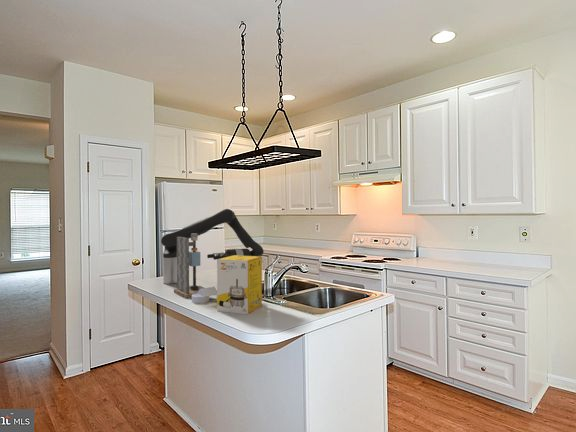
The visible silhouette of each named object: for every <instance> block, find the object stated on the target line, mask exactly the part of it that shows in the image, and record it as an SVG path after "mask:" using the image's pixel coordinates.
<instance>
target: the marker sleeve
mask: <svg viewBox="0 0 576 432" xmlns="http://www.w3.org/2000/svg"><path fill="white" fill-rule="evenodd" d="M193 266H196V267H199V266H200V267H201V251H199V250H197V251H196V252H193V251H189V267H193Z"/></svg>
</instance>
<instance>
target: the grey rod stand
mask: <svg viewBox="0 0 576 432" xmlns="http://www.w3.org/2000/svg"><path fill="white" fill-rule="evenodd" d="M198 238H199V237H198V234H197V233H192V234H191V238H183V237H177V283H176V288H173V293H174V294H176V295H177V296H180V297H182V298H184V299H192V295H193V294H197V292H198V291H199V290H200V289H202V288H205V287H203V286H201V285H197V266H192V285H190V266H189V252H196V251H198V248H197V247H196V246H197V245H196V244H197V242H196V241H199V239H198ZM190 247H191V249H190ZM190 250H191V251H190Z"/></svg>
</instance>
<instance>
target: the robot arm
mask: <svg viewBox="0 0 576 432" xmlns="http://www.w3.org/2000/svg"><path fill="white" fill-rule="evenodd" d="M222 224H227V225H228V226H229V227H230V228H231V229H232V230H233V232H234V233H235V235H236V237H237V238H238V239H239V241H240V242H241V244H242V245H243V246H244V248H230V249H229V248H228V249H226V250H225V252H215V253H210V254H209V253H208V254H207V259H212V260H213V261H214V260H216V261H217V259H221V258H225V257H229V256H233V255H238V256H260V257H262V255H264V248H263V247H262V245H260V244H259V243H258V242H256V241H255V240H254V239H253V238H252V237H251V235H250V234H249V232H248V231H247V230H246V229H245V228H244V227H243V225H242V224H241V223H240V221H239V220H238V217H237V216H236V213H235V212H234V211H233V210H232V209H229V208H225V209H222V210H220V211H219V212H217V213H215V214H213V215H211V216H208V217H207V216H206V217H205V218H203V219H200V220H197V221H195V222H192V223H190V224H188V225H185V226H184V227H183V228H181V229H178V230H176V231H174V232H170V233H166V234H164V235H163V236H162V237H161V240H160V243H161V245H162V246H163V247H164V250H163V253H162V264H163V265H162V268H163V269H162V270H163V271H162V278H163V279H162V280H163V281H162V283H163V284H166V285H167V284H171V285H172V284H177V237H183V238H189V239H191V234H192V233H197V234H198V236H201V235H203V234H206V233H208V232H209V231H210V230H212V229H213V228H215V227H217V226H219V225H222ZM249 248H250V249H251V250H250V249H249Z"/></svg>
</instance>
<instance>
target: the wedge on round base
mask: <svg viewBox="0 0 576 432" xmlns="http://www.w3.org/2000/svg"><path fill="white" fill-rule="evenodd" d="M210 296H217V287H216V286H211V287H210V286H209V287H204V288H202V289H200V290H199V291H198V292H197V294H193V295H192V298H191V303H192V304H205V303H208V302H210Z"/></svg>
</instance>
